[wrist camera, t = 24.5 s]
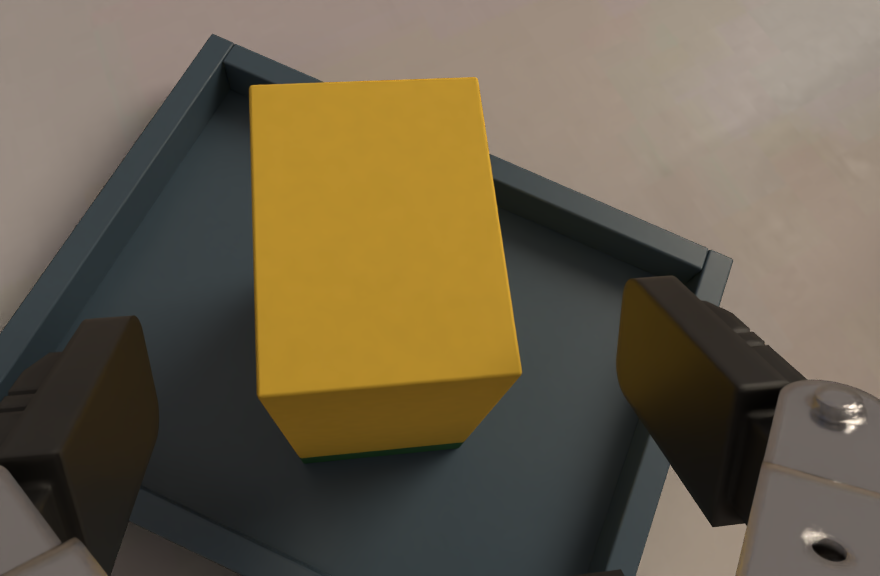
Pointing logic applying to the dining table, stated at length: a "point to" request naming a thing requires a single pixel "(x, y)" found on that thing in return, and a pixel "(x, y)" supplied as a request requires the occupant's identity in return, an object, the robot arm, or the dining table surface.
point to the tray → (373, 478)
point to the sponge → (377, 266)
